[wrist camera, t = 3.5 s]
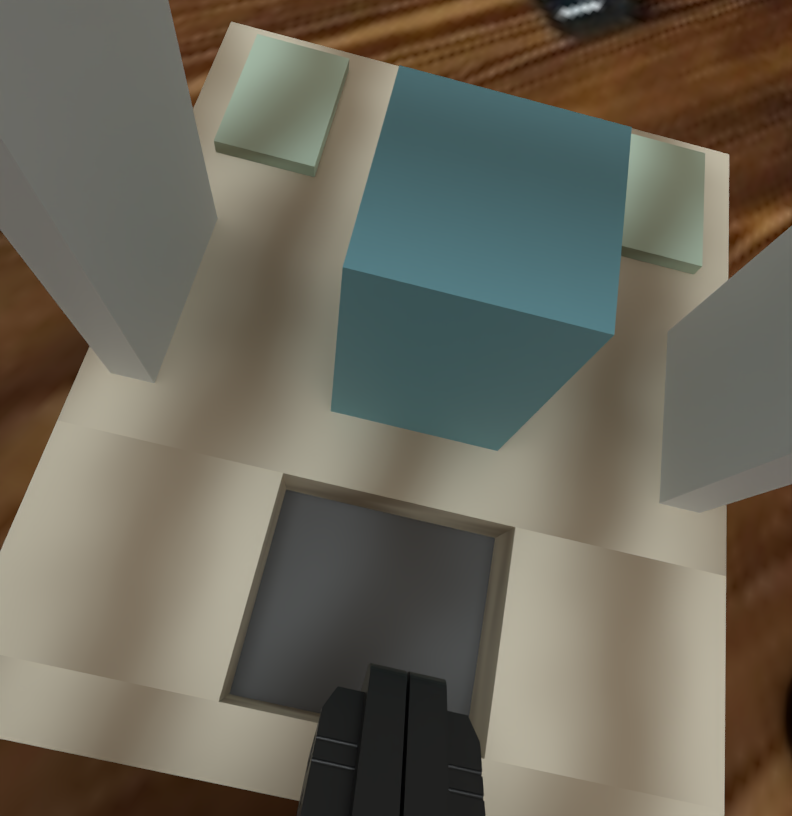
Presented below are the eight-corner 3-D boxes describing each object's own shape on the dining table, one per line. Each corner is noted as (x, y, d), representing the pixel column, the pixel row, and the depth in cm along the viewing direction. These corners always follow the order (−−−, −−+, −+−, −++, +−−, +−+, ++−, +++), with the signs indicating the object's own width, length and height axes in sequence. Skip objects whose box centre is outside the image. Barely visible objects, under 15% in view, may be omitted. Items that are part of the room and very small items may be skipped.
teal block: (330, 411, 21) (342, 266, 13) (368, 267, 24) (399, 65, 15) (497, 450, 22) (614, 335, 13) (519, 305, 24) (631, 127, 15)
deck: (-20, 710, 20) (-88, 726, 16) (238, 79, 30) (229, 8, 26) (668, 855, 21) (737, 897, 17) (691, 197, 31) (737, 144, 27)
